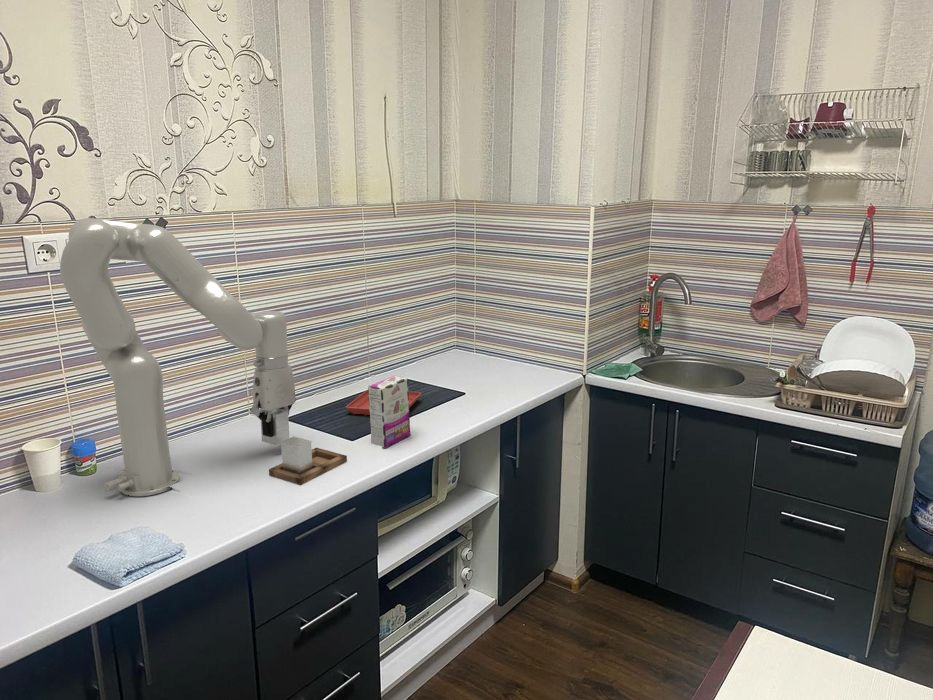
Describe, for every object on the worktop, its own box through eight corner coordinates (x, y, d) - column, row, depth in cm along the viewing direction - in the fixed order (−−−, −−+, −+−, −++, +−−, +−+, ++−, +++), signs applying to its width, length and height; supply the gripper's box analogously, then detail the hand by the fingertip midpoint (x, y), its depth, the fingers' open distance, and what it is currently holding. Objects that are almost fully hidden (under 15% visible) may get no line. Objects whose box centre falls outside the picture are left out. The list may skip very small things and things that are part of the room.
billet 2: (300, 479, 156) (298, 446, 154) (283, 474, 159) (280, 441, 157) (313, 473, 160) (310, 440, 158) (296, 468, 162) (293, 436, 160)
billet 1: (277, 445, 168) (275, 414, 167) (261, 441, 171) (260, 410, 169) (289, 441, 172) (288, 410, 170) (274, 436, 175) (272, 406, 173)
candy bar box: (396, 432, 188) (394, 374, 184) (410, 435, 185) (409, 377, 181) (369, 445, 178) (367, 385, 174) (384, 449, 176) (382, 388, 172)
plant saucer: (345, 417, 201) (344, 406, 200) (368, 398, 218) (367, 388, 217) (403, 421, 197) (403, 410, 196) (422, 402, 214) (422, 392, 213)
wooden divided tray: (300, 489, 153) (299, 478, 153) (269, 479, 159) (268, 469, 158) (347, 465, 166) (346, 455, 166) (317, 456, 171) (316, 447, 171)
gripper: (255, 371, 158) (259, 446, 162) (308, 357, 172) (310, 426, 176) (233, 366, 162) (238, 439, 166) (286, 353, 176) (289, 421, 180)
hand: (275, 432), depth 171 cm, fingers closed on billet 1, 4 cm apart
